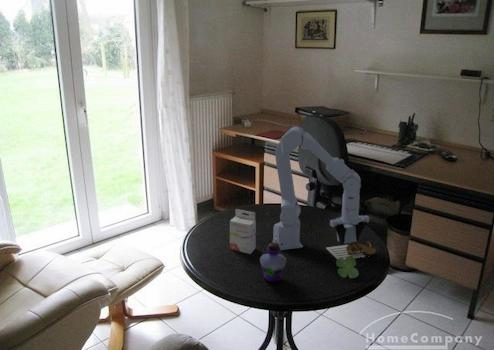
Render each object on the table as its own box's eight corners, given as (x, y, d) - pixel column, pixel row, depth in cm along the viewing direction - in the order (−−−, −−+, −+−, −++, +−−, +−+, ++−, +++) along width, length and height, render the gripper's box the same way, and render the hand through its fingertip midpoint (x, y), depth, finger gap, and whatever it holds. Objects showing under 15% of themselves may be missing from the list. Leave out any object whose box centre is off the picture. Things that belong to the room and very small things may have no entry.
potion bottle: (260, 285, 126) (261, 250, 123) (258, 271, 135) (258, 238, 131) (288, 285, 127) (289, 250, 123) (284, 271, 135) (285, 237, 132)
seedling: (348, 285, 136) (349, 284, 130) (330, 267, 138) (330, 266, 132) (363, 269, 136) (365, 268, 130) (344, 252, 139) (345, 250, 133)
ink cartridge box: (229, 250, 150) (228, 212, 146) (235, 244, 154) (235, 208, 150) (250, 254, 146) (250, 216, 142) (256, 249, 150) (256, 211, 146)
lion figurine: (344, 247, 152) (345, 256, 145) (346, 236, 150) (347, 245, 143) (377, 251, 150) (380, 261, 143) (379, 240, 148) (382, 250, 142)
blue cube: (344, 243, 145) (342, 228, 145) (337, 240, 150) (336, 226, 150) (356, 241, 146) (355, 226, 146) (349, 238, 151) (348, 224, 151)
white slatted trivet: (338, 260, 142) (338, 259, 142) (325, 248, 151) (325, 247, 151) (369, 256, 145) (369, 255, 145) (354, 244, 155) (354, 243, 155)
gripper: (337, 213, 138) (335, 249, 142) (375, 208, 142) (372, 244, 146) (327, 206, 145) (326, 241, 148) (364, 201, 148) (361, 236, 152)
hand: (348, 242), depth 147 cm, fingers closed on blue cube, 5 cm apart
